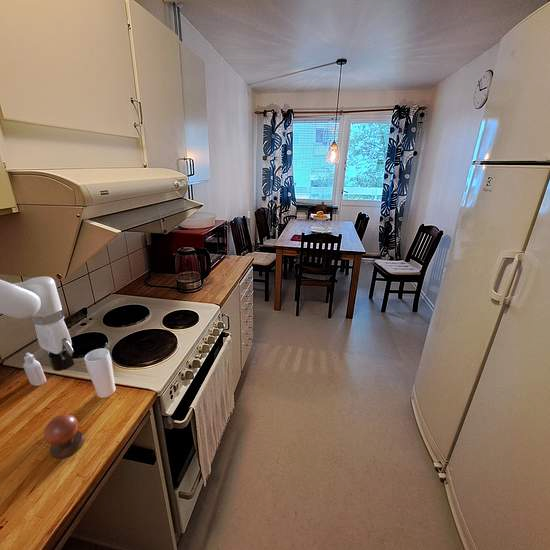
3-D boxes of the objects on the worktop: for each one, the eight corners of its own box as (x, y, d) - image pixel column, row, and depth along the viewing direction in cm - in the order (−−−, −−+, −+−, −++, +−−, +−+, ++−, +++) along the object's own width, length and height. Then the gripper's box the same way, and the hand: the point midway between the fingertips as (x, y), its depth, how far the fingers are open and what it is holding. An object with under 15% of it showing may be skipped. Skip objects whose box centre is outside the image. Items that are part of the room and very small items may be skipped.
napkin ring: (59, 373, 91) (55, 360, 89) (48, 367, 93) (44, 355, 91) (77, 362, 96) (73, 350, 94) (66, 358, 98) (63, 345, 96)
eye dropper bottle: (45, 374, 100) (35, 346, 95) (47, 383, 96) (36, 354, 92) (29, 380, 97) (18, 351, 93) (30, 389, 93) (19, 360, 89)
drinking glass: (91, 392, 93) (80, 354, 87) (114, 381, 97) (104, 345, 92) (98, 404, 88) (87, 365, 83) (121, 392, 93) (112, 354, 87)
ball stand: (62, 464, 71) (51, 436, 67) (45, 452, 74) (33, 425, 70) (90, 440, 77) (81, 413, 73) (73, 430, 80) (64, 404, 76)
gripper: (18, 315, 88) (35, 363, 94) (51, 328, 81) (67, 379, 88) (45, 305, 94) (59, 351, 101) (78, 317, 88) (90, 365, 94)
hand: (62, 363), depth 94 cm, fingers closed on napkin ring, 5 cm apart
